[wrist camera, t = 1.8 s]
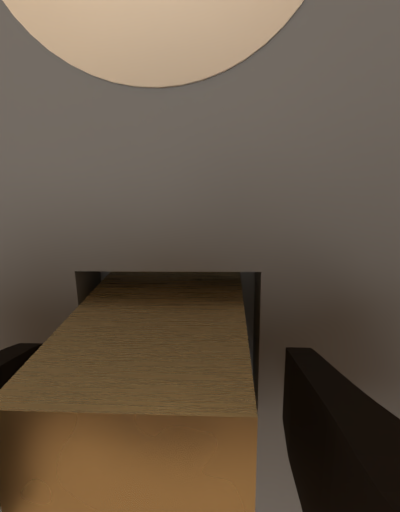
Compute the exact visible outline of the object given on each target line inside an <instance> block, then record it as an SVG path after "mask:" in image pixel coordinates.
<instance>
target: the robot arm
mask: <svg viewBox="0 0 400 512" xmlns="http://www.w3.org/2000/svg"><path fill="white" fill-rule="evenodd" d="M42 344H43V343H18V344H15V345H12V346H10V347H7V348H5V349H2V350H0V389H1V388H2V387H3V386H4V385H5V384H6V383H7V382H8V381H9V380H10V379H11V377H12V376H13V375H14V374H15V373H16V372H17V371H18V370H19V369H20V368H21V367H22V366H23V365H24V364H25V362H26V361H27V360H28V359H29V358H30V357H31V356H32V355H33V354H34V353H35V352H36V351H37V350H38V349H39V348H40V346H41V345H42ZM282 419H283V426H284V433H285V440H286V447H287V453H288V459H289V463H290V466H291V470H292V474H293V478H294V482H295V485H296V489H297V493H298V496H299V500H300V504H301V508H302V511H303V512H400V419H399V418H398V417H396V416H395V415H393V414H392V413H391V412H389V411H388V410H387V409H385V408H384V407H382V406H381V405H380V404H378V403H377V402H376V401H375V400H373V399H372V398H371V397H369V396H368V395H367V394H366V393H364V392H363V391H362V390H361V389H359V388H358V387H357V386H356V385H354V384H353V383H352V382H351V381H350V380H348V379H347V378H346V377H345V376H344V375H343V374H341V373H340V372H339V371H338V370H337V369H336V368H334V367H333V366H332V365H331V364H330V363H329V362H327V361H326V360H325V359H324V358H323V357H322V356H321V355H319V354H318V353H317V352H316V351H315V350H313V349H312V348H301V347H286V353H285V373H284V394H283V414H282Z"/></svg>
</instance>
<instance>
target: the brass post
mask: <svg viewBox="0 0 400 512" xmlns="http://www.w3.org/2000/svg"><path fill="white" fill-rule="evenodd" d="M257 427H258V416H257V407H256V399H255V391H254V383H253V375H252V367H251V359H250V351H249V343H248V334H247V326H246V318H245V310H244V302H243V294H242V286H241V278H240V272H128V271H111V272H110V273H109V274H108V275H107V276H106V277H105V278H104V279H103V280H102V281H101V282H100V283H99V285H98V286H97V287H96V288H95V289H94V290H93V291H92V292H91V293H90V294H89V295H88V296H87V297H86V298H85V300H84V301H83V302H82V303H81V304H80V305H79V306H78V307H77V308H76V309H75V310H74V311H73V312H72V313H71V314H70V316H69V317H68V318H67V319H66V320H65V321H64V322H63V323H62V324H61V325H60V326H59V327H58V328H57V329H56V330H55V332H54V333H53V334H52V335H51V336H50V337H49V338H48V339H47V340H46V341H45V342H44V343H43V344H42V345H41V346H40V348H39V349H38V350H37V351H36V352H35V353H34V354H33V355H32V356H31V357H30V358H29V359H28V360H27V361H26V362H25V364H24V365H23V366H22V367H21V368H20V369H19V370H18V371H17V372H16V373H15V374H14V375H13V376H12V377H11V379H10V380H9V381H8V382H7V383H6V384H5V385H4V386H3V387H2V388H1V389H0V506H1V511H2V512H255V497H256V462H257Z"/></svg>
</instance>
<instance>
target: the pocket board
mask: <svg viewBox="0 0 400 512" xmlns="http://www.w3.org/2000/svg"><path fill="white" fill-rule="evenodd" d="M111 271H128V272H240V278H241V286H242V294H243V302H244V310H245V318H246V326H247V334H248V343H249V351H250V359H251V367H252V375H253V383H254V391H255V399H256V407H257V416H258V427H257V462H256V497H255V512H303V511H302V508H301V504H300V500H299V496H298V493H297V489H296V485H295V482H294V478H293V474H292V470H291V466H290V463H289V459H288V453H287V447H286V440H285V433H284V426H283V419H282V414H283V394H284V373H285V353H286V347H301V348H312V349H313V350H315V351H316V352H317V353H318V354H319V355H321V356H322V357H323V358H324V359H325V360H326V361H327V362H329V363H330V364H331V365H332V366H333V367H334V368H336V369H337V370H338V371H339V372H340V373H341V374H343V375H344V376H345V377H346V378H347V379H348V380H350V381H351V382H352V383H353V384H354V385H356V386H357V387H358V388H359V389H361V390H362V391H363V392H364V393H366V394H367V395H368V396H369V397H371V398H372V399H373V400H375V401H376V402H377V403H378V404H380V405H381V406H382V407H384V408H385V409H387V410H388V411H389V412H391V413H392V414H393V415H395V416H396V417H398V418H399V419H400V0H0V350H2V349H5V348H7V347H10V346H12V345H15V344H18V343H44V342H45V341H46V340H47V339H48V338H49V337H50V336H51V335H52V334H53V333H54V332H55V330H56V329H57V328H58V327H59V326H60V325H61V324H62V323H63V322H64V321H65V320H66V319H67V318H68V317H69V316H70V314H71V313H72V312H73V311H74V310H75V309H76V308H77V307H78V306H79V305H80V304H81V303H82V302H83V301H84V300H85V298H86V297H87V296H88V295H89V294H90V293H91V292H92V291H93V290H94V289H95V288H96V287H97V286H98V285H99V283H100V282H101V281H102V280H103V279H104V278H105V277H106V276H107V275H108V274H109V273H110V272H111ZM0 512H2V511H1V506H0Z"/></svg>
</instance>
